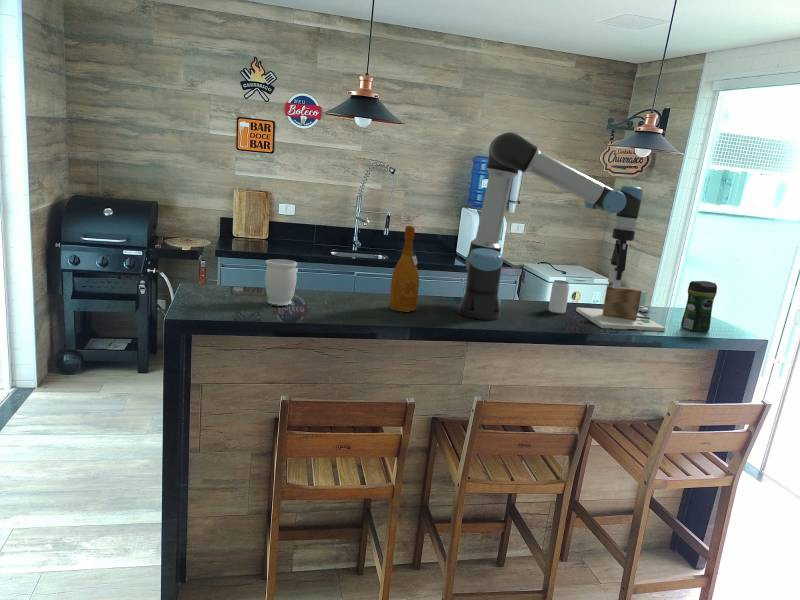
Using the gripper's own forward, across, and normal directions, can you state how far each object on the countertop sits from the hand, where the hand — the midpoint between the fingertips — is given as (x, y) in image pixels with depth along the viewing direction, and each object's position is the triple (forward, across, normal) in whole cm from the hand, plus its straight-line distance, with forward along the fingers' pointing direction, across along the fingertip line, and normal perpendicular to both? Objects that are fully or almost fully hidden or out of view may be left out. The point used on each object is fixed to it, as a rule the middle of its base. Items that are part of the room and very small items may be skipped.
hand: (613, 285), depth 223 cm
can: (+14, +2, +19) cm, 23 cm away
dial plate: (+13, 0, -4) cm, 14 cm away
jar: (+16, -46, +114) cm, 123 cm away
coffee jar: (+13, +3, -32) cm, 34 cm away
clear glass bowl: (+14, +26, -16) cm, 34 cm away
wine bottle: (+15, -29, +74) cm, 81 cm away
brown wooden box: (+11, 0, -6) cm, 13 cm away
